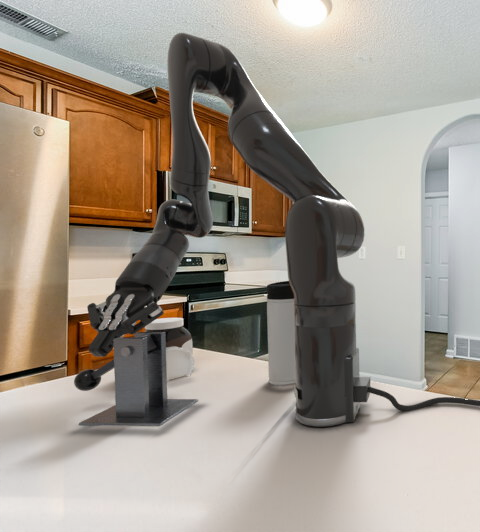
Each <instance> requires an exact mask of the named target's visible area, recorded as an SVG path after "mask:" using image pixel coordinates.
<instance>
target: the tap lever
mask: <svg viewBox="0 0 480 532" xmlns="http://www.w3.org/2000/svg"><path fill="white" fill-rule="evenodd" d="M141 337H147V353H149V352H150V351H152V350H154V349H155V348H157V346H156V345H155V343H154V341H153V340H152V338H151V336H150V335H149V334H148V335H145V336H141ZM112 370H114V358H113V359H112V360H111V361H108V362H107V363H105V364H104V365H102V366H100V367H99V368H97V369H94V368H93V369H92V368H88V369H87V368H86V369H84V370H81V371H80V372H78V373H77V374H76V376H75V377H74V380H73V385H74V387H75V388H76V389H77V390H79V391H81V392H89V391H92V390H94V389H96V388H97V387H99V386H100V383H101V381H102V376H104V375H106V374H107V373H109V372H111V371H112Z"/></svg>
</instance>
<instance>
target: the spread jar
mask: <svg viewBox="0 0 480 532" xmlns="http://www.w3.org/2000/svg"><path fill="white" fill-rule="evenodd" d="M184 323H185V322H184V318H183V317H162V318H157V319H156V320H154V321H153V322H151V323H150V324H148V325H147V326H145V327H144V330H145V331H144V332H165V337H166V369H167V383H171V382H170V380H173V379H177V378H181V377H184V376H186V377H190V376H192V374H193V372H194V370H195V363H196V362H195V358H194V351H193V350H194V349H193V347H194V346H193V345H194V344H193V337H192V334H191V332H190V331H189V330H188V329H187V328H185V327H184Z"/></svg>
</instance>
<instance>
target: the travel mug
mask: <svg viewBox="0 0 480 532" xmlns="http://www.w3.org/2000/svg"><path fill="white" fill-rule="evenodd" d="M266 294H267V295H266V320H267V321H266V323H267V325H266V326H267V351H268V352H267V361H268V366H267V367H268V384H269V385H270V386H276V387H286V386H287V387H288V386H294V385H296V371H295V323H294V295H293V291H292V289H291V287H290V284H289V280H284V281H278V282H277V281H276V282H273V283H269V284H267V285H266Z"/></svg>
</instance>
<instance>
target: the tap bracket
mask: <svg viewBox="0 0 480 532" xmlns="http://www.w3.org/2000/svg"><path fill="white" fill-rule="evenodd" d="M148 334H149V335H150V336H151V338H152V340H153V341H154V343H155V345H156V346H157V348H155V349H154V350H152V351H150V352H149V353H147V337H141V336H145V335H148ZM133 336H134V337H127V336H126V337H124V336H123V337H119V338H115V339H113V343H114V347H113V359H114V368H113V371H114V373H113V374H114V399H115V400H114V402H115V405H113V406H111V407H109V408H106V409H104V410H102V411H101V412H98V413H95V414H94V415H92V416H90V417H87V418H86V419H84V420H81V421H80V422H78V426H125V427H126V426H129V427H130V426H133V427H139V426H141V427H161V426H163V425H164V424H165V423H167V422H169V421H170V420H172V419H173V418H175V417H176V416H178V415H179V414H181V413H182V412H184V411H185V410H187V409H189V408H190V407H192V406H193V405H195V404H196V403H198V402H199V399H198V398H168V382H167V369H166V337H165V332H145V331H138V332H136V333H134V334H133Z"/></svg>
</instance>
